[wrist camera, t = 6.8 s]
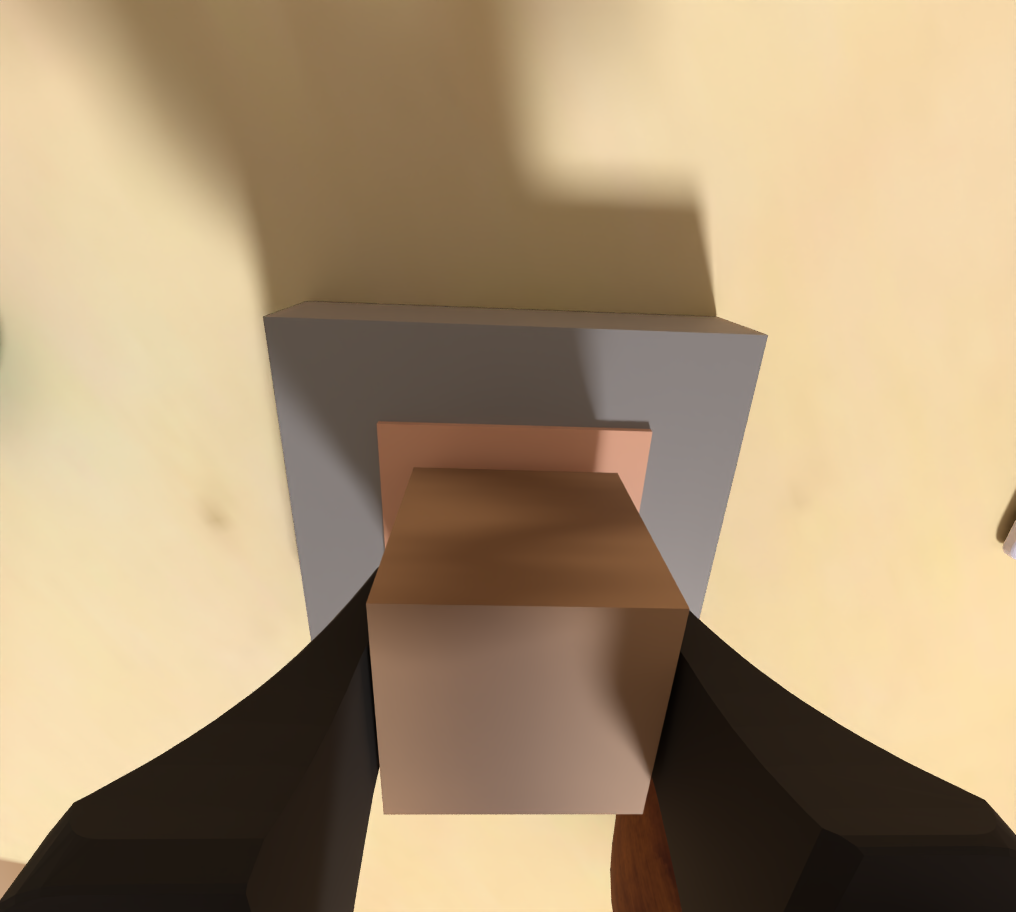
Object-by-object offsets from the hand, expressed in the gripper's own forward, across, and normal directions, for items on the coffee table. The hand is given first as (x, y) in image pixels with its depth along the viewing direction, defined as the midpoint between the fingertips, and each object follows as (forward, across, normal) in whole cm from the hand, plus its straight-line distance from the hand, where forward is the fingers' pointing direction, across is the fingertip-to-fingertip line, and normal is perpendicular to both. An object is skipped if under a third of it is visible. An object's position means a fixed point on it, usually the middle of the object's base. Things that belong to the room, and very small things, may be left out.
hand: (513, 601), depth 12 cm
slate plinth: (+6, 0, 0) cm, 6 cm away
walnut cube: (+2, 0, 0) cm, 2 cm away
